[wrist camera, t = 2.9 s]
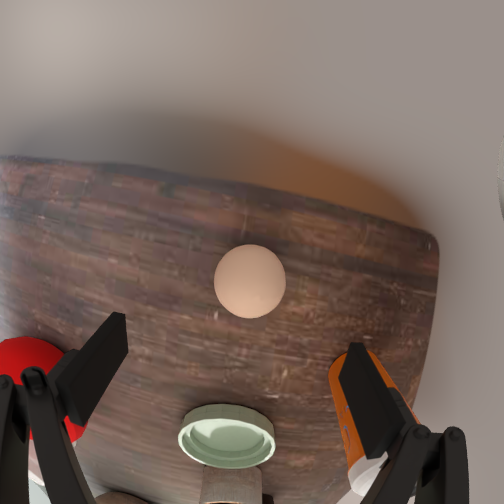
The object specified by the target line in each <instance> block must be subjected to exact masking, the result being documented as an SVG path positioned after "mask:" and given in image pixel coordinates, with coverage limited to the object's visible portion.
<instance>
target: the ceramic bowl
mask: <svg viewBox="0 0 504 504" xmlns="http://www.w3.org/2000/svg"><path fill="white" fill-rule="evenodd" d="M94 499H95V501H96V503H97V504H148V503H147V502H145V501H143V500H141V499H139V498H137V497H134V496H131V495H128V494H125V493H121V492H109V493H105V494H102V495H100V496H98V497H96V498H94Z"/></svg>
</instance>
